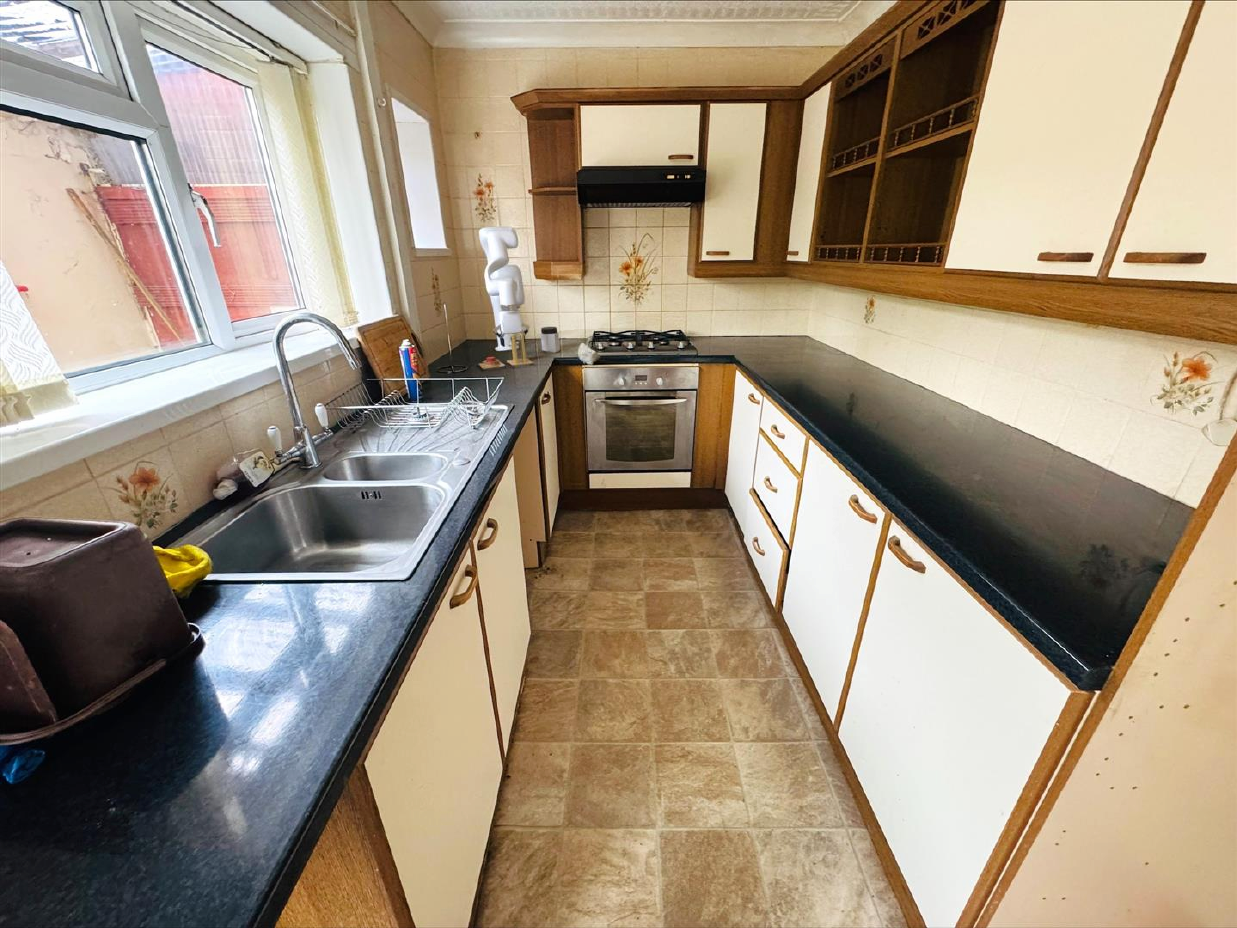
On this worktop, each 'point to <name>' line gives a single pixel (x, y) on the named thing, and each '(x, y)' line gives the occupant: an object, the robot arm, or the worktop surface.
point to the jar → (550, 339)
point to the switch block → (491, 364)
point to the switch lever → (517, 337)
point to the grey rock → (587, 354)
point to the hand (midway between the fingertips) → (513, 345)
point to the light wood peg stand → (514, 351)
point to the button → (490, 359)
